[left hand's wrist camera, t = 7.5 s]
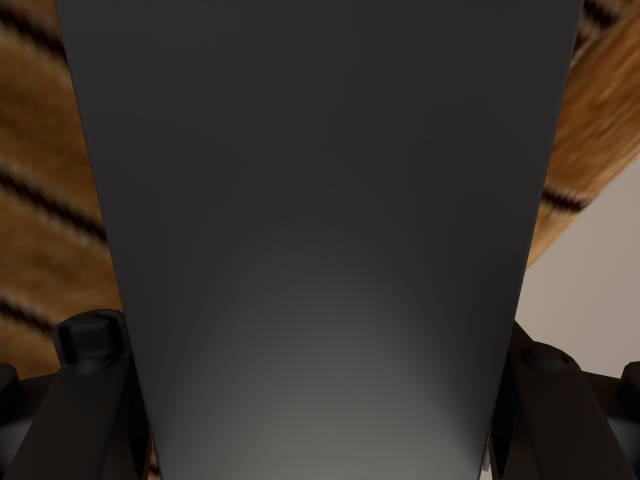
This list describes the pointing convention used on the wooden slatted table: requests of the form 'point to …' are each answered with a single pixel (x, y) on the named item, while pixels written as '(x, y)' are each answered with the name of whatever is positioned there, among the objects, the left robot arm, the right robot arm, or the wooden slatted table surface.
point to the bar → (319, 219)
